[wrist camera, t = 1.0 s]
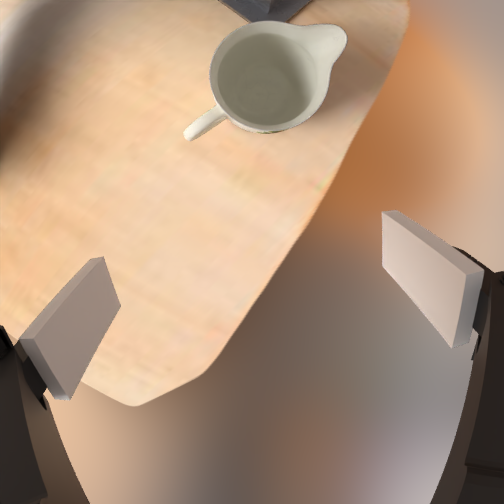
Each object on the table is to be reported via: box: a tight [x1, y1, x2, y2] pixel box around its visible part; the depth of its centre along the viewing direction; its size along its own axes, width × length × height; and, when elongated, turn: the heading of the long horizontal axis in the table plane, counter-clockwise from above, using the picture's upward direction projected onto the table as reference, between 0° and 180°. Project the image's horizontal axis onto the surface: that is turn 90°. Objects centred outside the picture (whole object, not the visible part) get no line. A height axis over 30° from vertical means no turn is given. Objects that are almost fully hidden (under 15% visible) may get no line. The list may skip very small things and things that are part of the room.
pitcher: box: [184, 21, 348, 141], centre depth 30 cm, size 11×18×14 cm, turn 125°
